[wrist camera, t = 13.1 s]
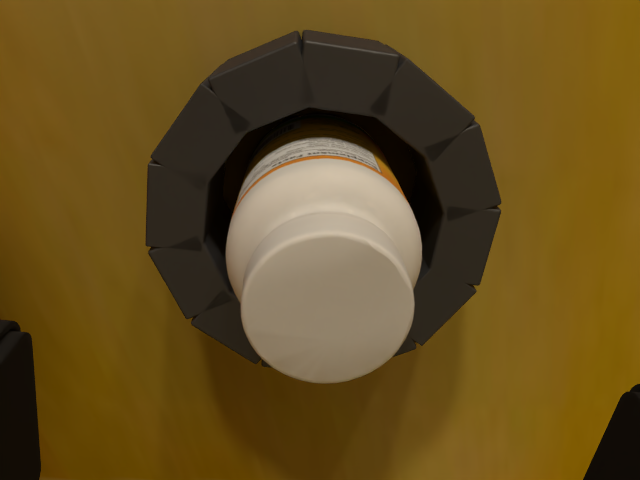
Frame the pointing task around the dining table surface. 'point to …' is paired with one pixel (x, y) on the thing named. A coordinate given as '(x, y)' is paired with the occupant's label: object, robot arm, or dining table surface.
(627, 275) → the dining table surface
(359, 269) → the supplement bottle
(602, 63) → the dining table surface
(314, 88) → the tape roll
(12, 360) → the robot arm
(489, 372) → the dining table surface
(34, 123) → the dining table surface
